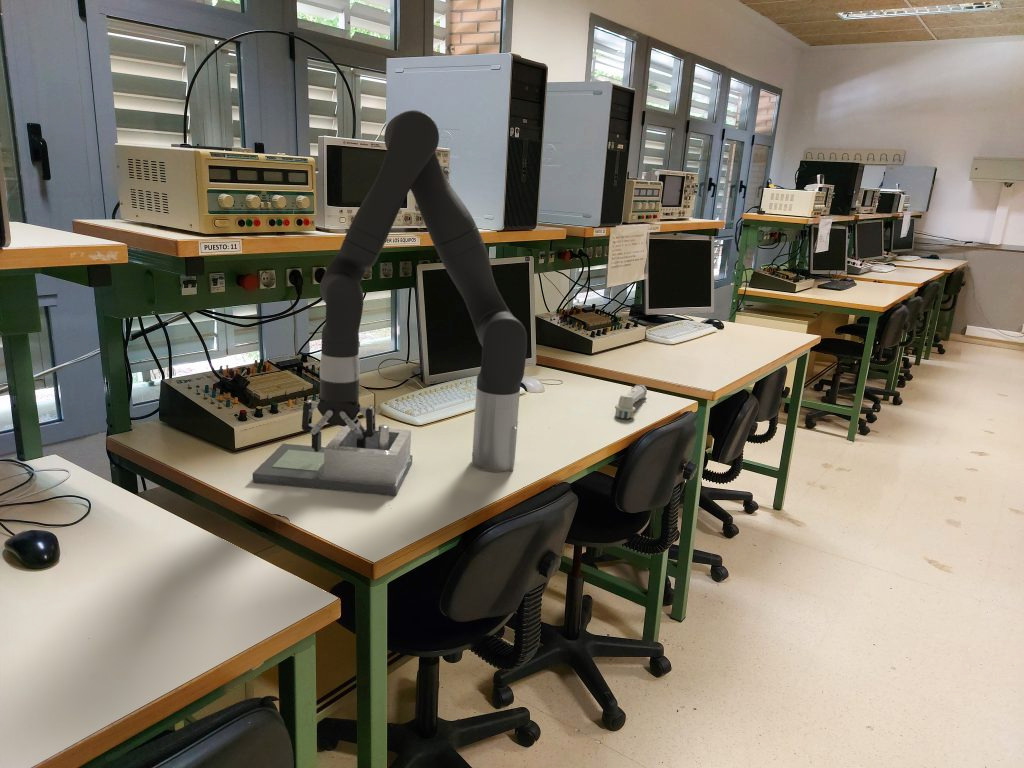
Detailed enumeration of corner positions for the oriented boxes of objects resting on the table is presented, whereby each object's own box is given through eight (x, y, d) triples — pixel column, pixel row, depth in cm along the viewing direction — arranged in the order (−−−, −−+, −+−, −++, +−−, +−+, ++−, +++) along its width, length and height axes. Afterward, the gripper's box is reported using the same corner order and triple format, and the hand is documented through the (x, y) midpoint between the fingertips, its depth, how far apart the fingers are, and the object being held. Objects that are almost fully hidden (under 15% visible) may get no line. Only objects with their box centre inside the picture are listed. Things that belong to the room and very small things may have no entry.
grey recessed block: (410, 456, 151) (411, 430, 149) (395, 484, 137) (396, 455, 136) (344, 450, 151) (344, 424, 150) (324, 477, 138) (324, 448, 136)
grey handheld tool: (650, 385, 212) (634, 395, 189) (647, 407, 213) (631, 419, 190) (632, 382, 214) (615, 392, 190) (629, 404, 215) (612, 416, 191)
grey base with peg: (412, 463, 152) (413, 415, 149) (396, 496, 137) (397, 442, 134) (283, 452, 153) (282, 403, 150) (252, 482, 138) (251, 429, 135)
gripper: (380, 374, 143) (377, 449, 147) (310, 367, 143) (309, 442, 148) (370, 384, 136) (368, 463, 140) (297, 377, 136) (297, 456, 141)
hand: (338, 452), depth 144 cm, fingers open, 8 cm apart
